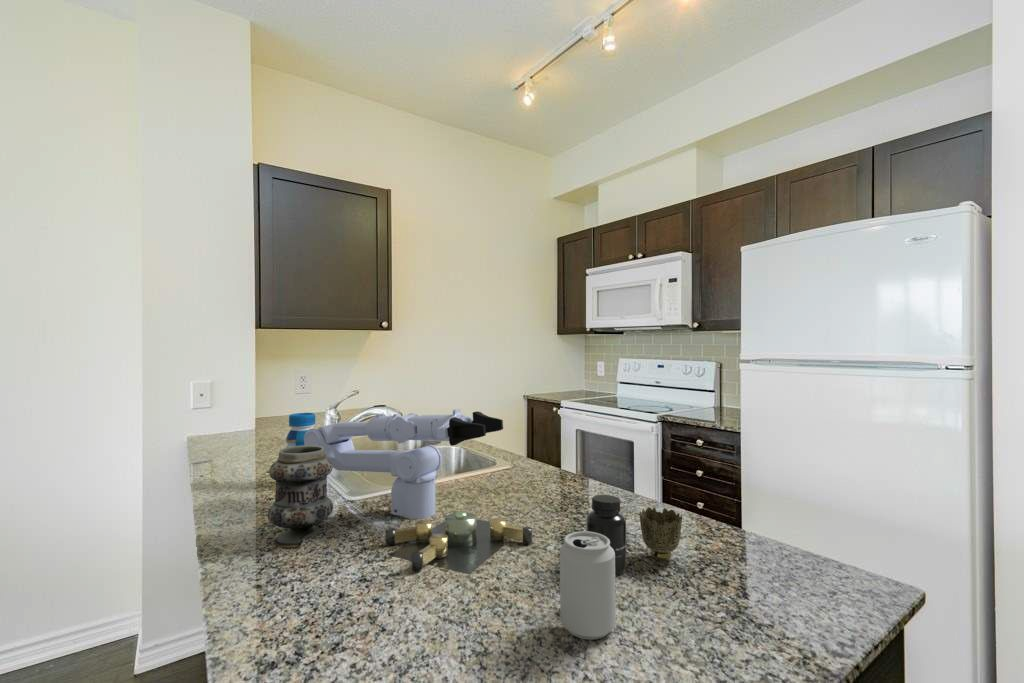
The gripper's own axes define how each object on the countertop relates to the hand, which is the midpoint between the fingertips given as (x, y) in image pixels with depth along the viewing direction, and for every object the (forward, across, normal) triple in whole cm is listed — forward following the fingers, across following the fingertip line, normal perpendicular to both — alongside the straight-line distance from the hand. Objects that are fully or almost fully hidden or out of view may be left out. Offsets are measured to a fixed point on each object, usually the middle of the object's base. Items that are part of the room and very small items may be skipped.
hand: (493, 427), depth 98 cm
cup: (+31, +2, +24) cm, 40 cm away
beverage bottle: (-66, +6, +17) cm, 68 cm away
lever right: (+5, -5, +21) cm, 22 cm away
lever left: (-12, -14, +19) cm, 27 cm away
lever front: (-4, -19, +20) cm, 28 cm away
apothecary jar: (-36, -19, +19) cm, 45 cm away
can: (+25, -24, +24) cm, 42 cm away
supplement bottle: (+23, -6, +24) cm, 34 cm away
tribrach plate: (-4, -9, +21) cm, 24 cm away
